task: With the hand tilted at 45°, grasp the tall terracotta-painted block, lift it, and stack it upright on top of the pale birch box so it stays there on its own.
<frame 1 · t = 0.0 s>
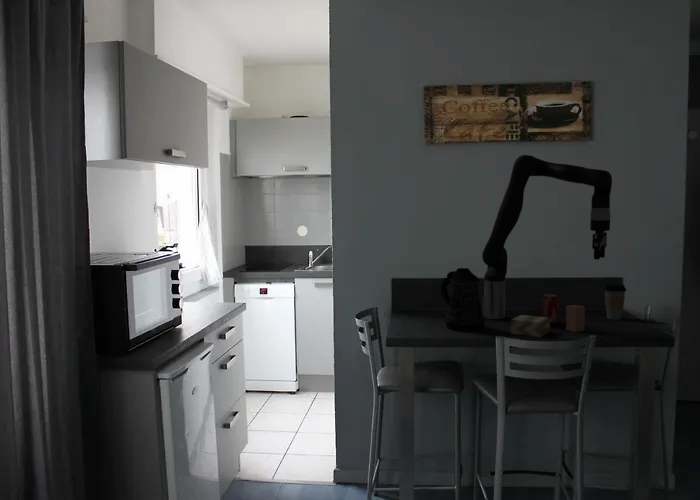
hand: (599, 258, 257), 29 cm above the table, tool pointing down, fingers open, 8 cm apart
terracotta block: (575, 330, 257), on the table
beer stein: (461, 327, 265), on the table
soda can: (549, 322, 274), on the table
coffee cup: (614, 318, 280), on the table
birch box: (530, 333, 253), on the table
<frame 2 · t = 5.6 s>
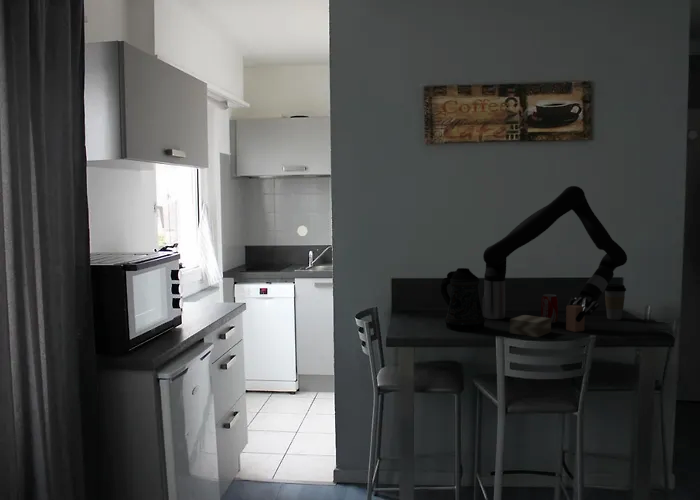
hand: (572, 319, 256), 5 cm above the table, tool tilted 45°, fingers closed on terracotta block, 5 cm apart
terracotta block: (575, 330, 257), on the table, touching gripper
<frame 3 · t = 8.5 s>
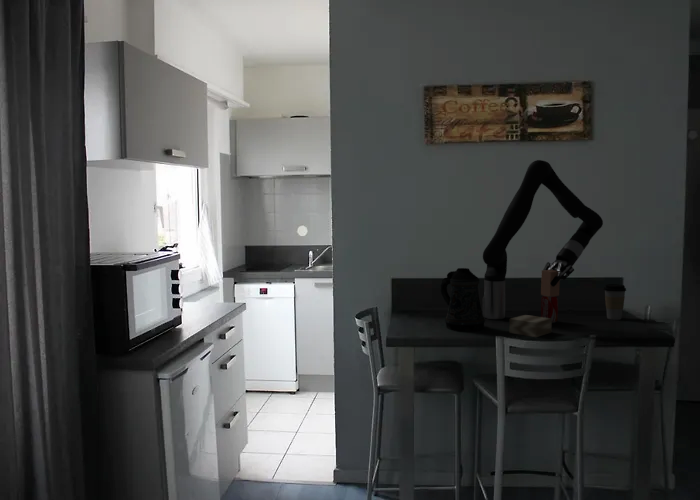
hand: (546, 284, 253), 20 cm above the table, tool tilted 45°, fingers closed on terracotta block, 5 cm apart
terracotta block: (549, 295, 254), point 15 cm above the table, touching gripper
everything else where it was.
when the fingers open (12 cm above the table, at t = 11.4 s): terracotta block drops 2 cm, resting on birch box.
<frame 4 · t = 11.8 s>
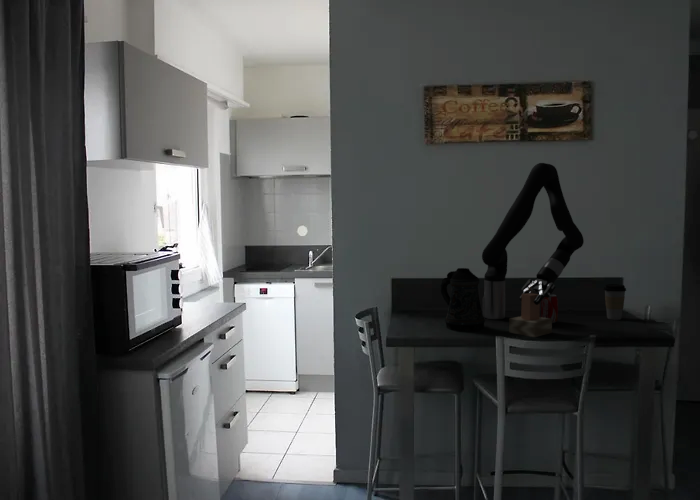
hand: (528, 301, 252), 13 cm above the table, tool tilted 45°, fingers open, 8 cm apart
terracotta block: (530, 318, 253), point 6 cm above the table, touching birch box
birch box: (530, 333, 253), on the table, touching terracotta block
everything else where it was.
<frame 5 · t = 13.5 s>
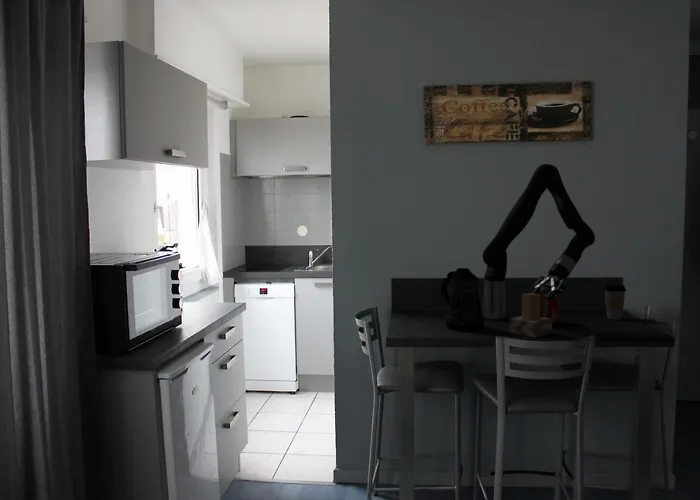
hand: (540, 298, 254), 14 cm above the table, tool tilted 45°, fingers open, 8 cm apart
terracotta block: (530, 318, 253), point 6 cm above the table
birch box: (530, 333, 253), on the table
everything else where it was.
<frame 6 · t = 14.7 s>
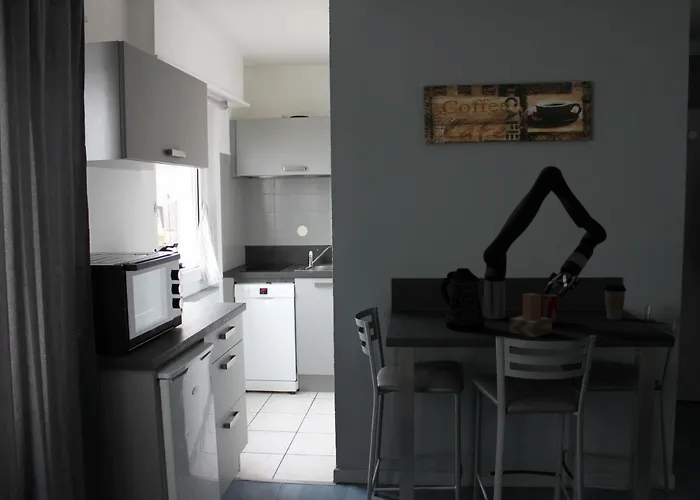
hand: (552, 294, 257), 15 cm above the table, tool tilted 45°, fingers open, 8 cm apart
terracotta block: (531, 318, 253), point 6 cm above the table, touching birch box
birch box: (530, 333, 253), on the table, touching terracotta block
everything else where it was.
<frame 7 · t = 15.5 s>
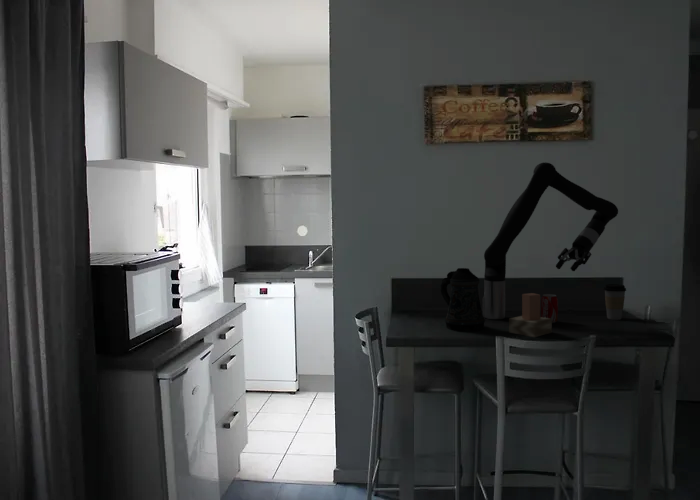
hand: (564, 268, 262), 24 cm above the table, tool tilted 45°, fingers open, 8 cm apart
terracotta block: (531, 318, 253), point 6 cm above the table
birch box: (530, 333, 253), on the table
everything else where it was.
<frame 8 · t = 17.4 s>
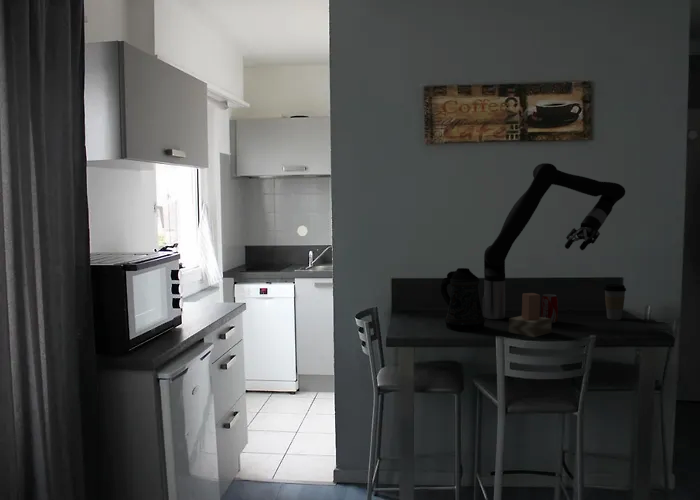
hand: (573, 248, 267), 33 cm above the table, tool tilted 45°, fingers open, 8 cm apart
terracotta block: (530, 318, 253), point 6 cm above the table, touching birch box
birch box: (529, 333, 254), on the table, touching terracotta block
everything else where it was.
at the end: terracotta block inside the target area on the birch box (0.1 cm from its centre), point 6.1 cm above the birch box's base; terracotta block tilted 1°; the gripper is holding nothing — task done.
